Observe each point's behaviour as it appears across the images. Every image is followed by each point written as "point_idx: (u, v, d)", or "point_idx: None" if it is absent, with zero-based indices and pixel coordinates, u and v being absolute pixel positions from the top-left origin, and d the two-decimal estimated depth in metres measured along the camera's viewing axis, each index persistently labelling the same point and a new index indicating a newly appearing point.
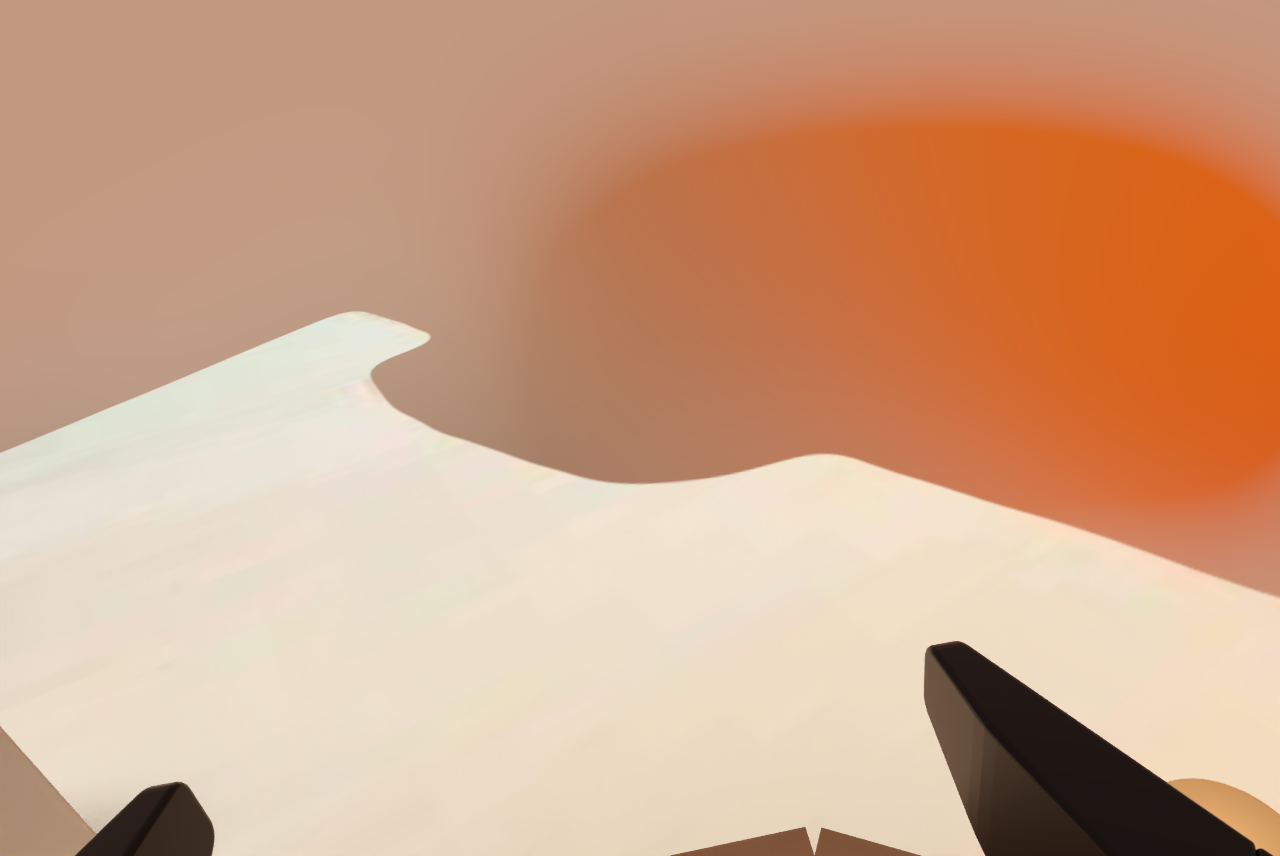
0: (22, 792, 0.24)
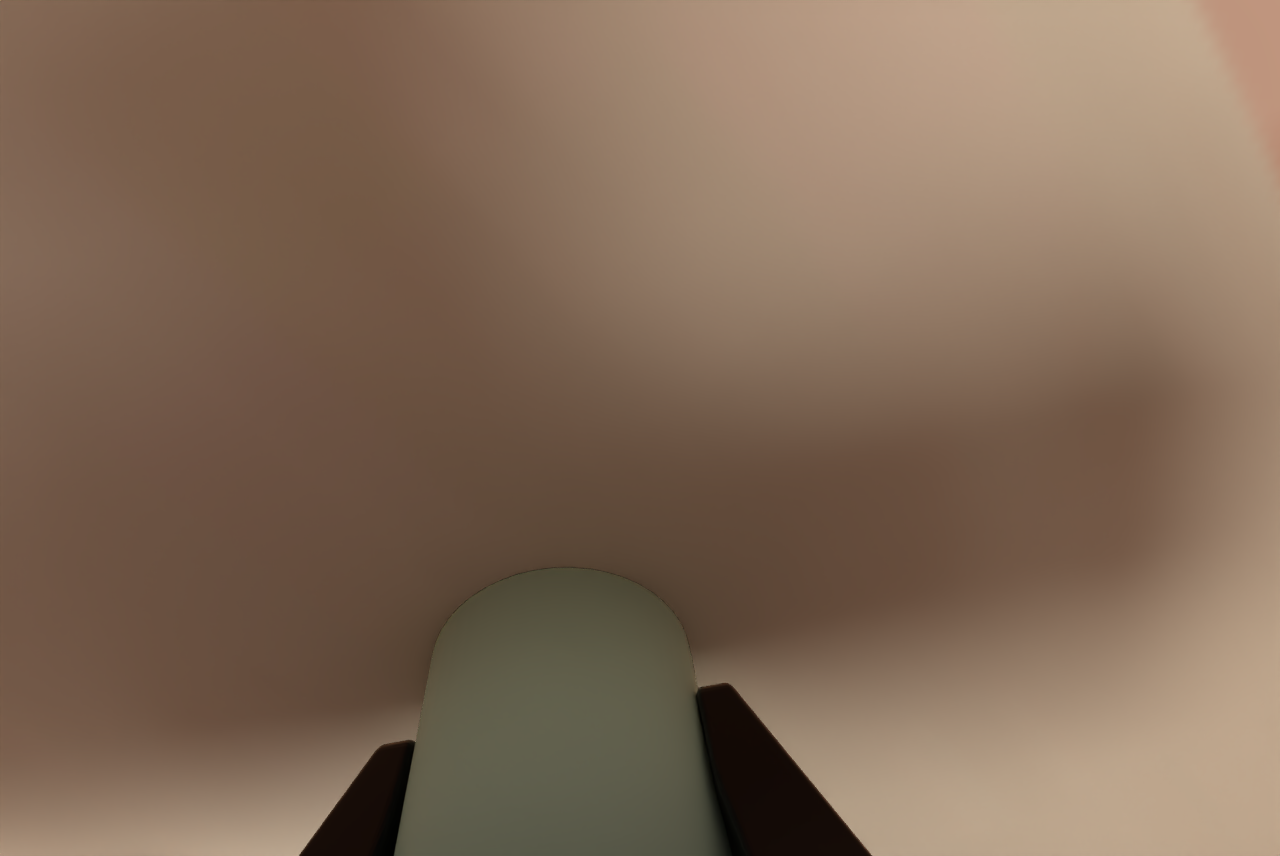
0: None
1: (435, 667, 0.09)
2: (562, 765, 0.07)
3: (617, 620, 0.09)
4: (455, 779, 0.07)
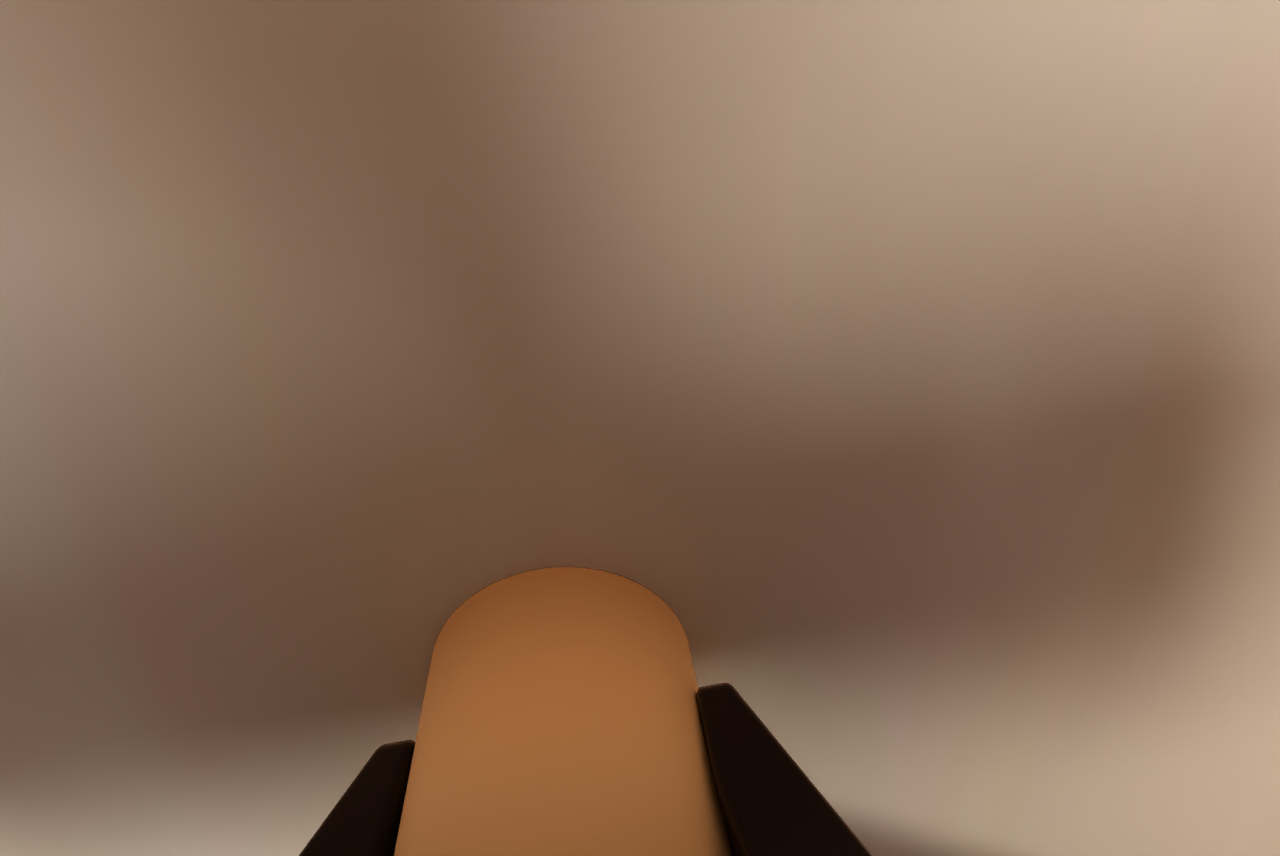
0: None
1: None
2: None
3: None
4: None
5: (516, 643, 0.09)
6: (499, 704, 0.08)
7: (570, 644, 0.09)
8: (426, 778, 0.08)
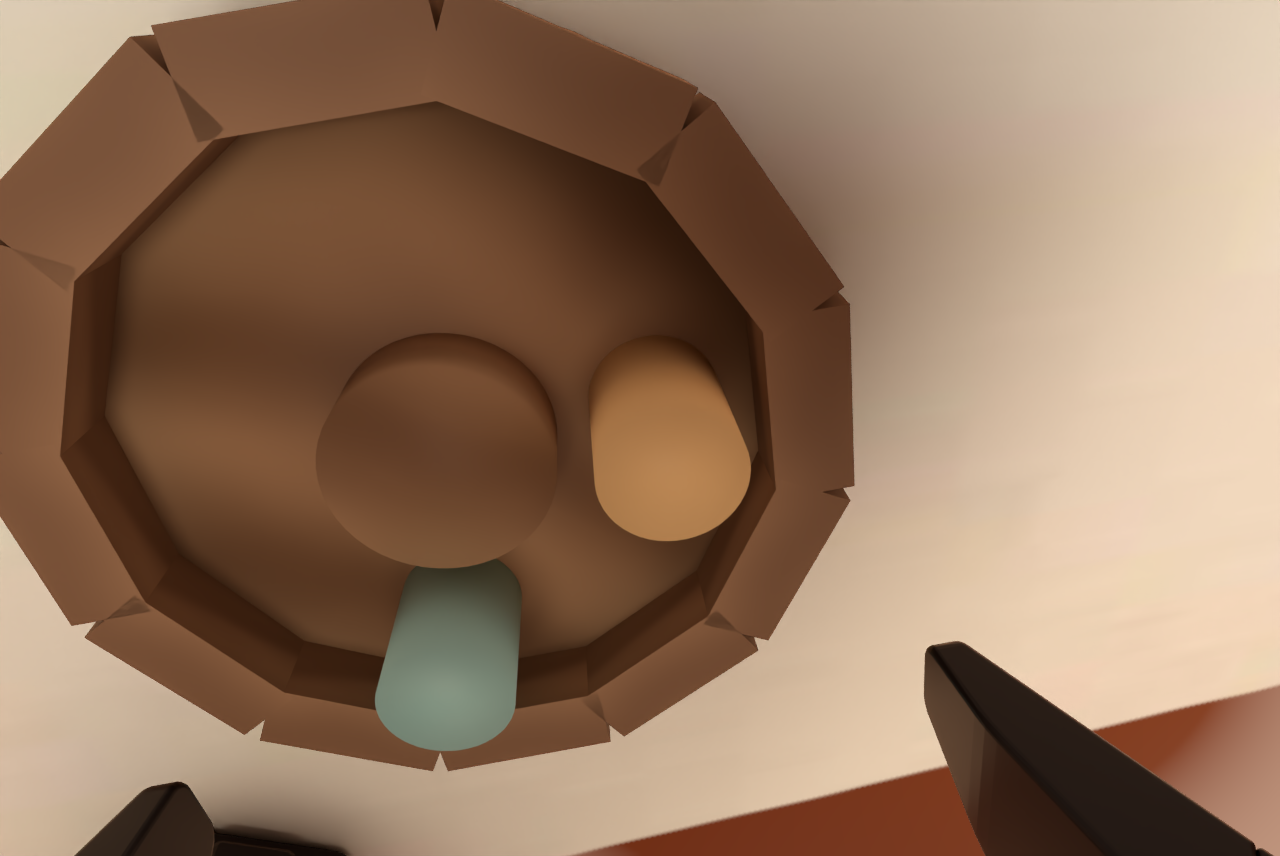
0: None
1: (408, 584, 0.22)
2: (457, 618, 0.20)
3: (489, 574, 0.22)
4: (417, 620, 0.20)
5: (641, 357, 0.19)
6: (638, 372, 0.18)
7: (666, 356, 0.19)
8: (608, 400, 0.18)
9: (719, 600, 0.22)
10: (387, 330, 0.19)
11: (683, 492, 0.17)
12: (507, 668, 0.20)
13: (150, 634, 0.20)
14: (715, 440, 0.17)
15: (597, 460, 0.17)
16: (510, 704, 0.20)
